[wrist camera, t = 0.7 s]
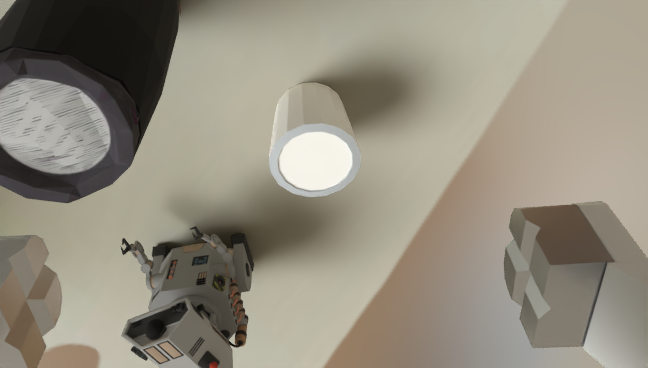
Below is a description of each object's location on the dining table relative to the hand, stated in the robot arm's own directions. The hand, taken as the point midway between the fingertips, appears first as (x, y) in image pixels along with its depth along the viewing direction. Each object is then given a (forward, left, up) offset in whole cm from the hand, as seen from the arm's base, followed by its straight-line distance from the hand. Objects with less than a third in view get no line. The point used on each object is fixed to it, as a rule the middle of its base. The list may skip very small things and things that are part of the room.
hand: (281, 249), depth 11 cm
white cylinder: (+17, -10, -36) cm, 41 cm away
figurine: (+21, -27, -36) cm, 50 cm away
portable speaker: (0, -13, -36) cm, 38 cm away
